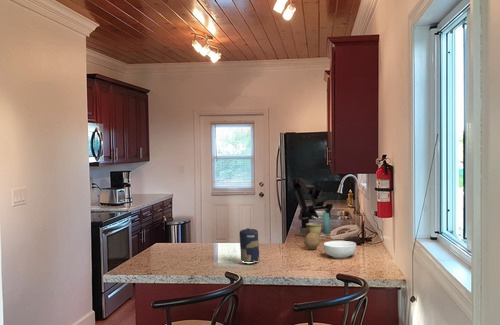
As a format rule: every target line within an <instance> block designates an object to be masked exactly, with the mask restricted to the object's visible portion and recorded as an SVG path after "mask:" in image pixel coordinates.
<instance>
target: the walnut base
mask: <svg viewBox="0 0 500 325" xmlns="http://www.w3.org/2000/svg"><path fill="white" fill-rule="evenodd" d="M307 234H308V231H307V228H300V229H299V232H297V233H295V234H294V236H295V237H306V236H307Z"/></svg>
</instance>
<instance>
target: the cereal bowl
mask: <svg viewBox="0 0 500 325" xmlns="http://www.w3.org/2000/svg"><path fill="white" fill-rule="evenodd" d="M323 250H324V252H325V253H326V254H327V255H328V256H331V257H332V258H333V259H347V258H348V257H350V256H352V255H354V254H355V253H356V250H357V243H356V242H354V241H348V240H347V241H346V240H331V241H325V242H324V243H323Z"/></svg>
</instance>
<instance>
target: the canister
mask: <svg viewBox="0 0 500 325" xmlns="http://www.w3.org/2000/svg"><path fill="white" fill-rule="evenodd" d="M239 247H240V261H241V260H242V261H244V262H254V261H258V260H259V261H260V245H259V232H258V230H257V229H254V228H249V227H248V228H247V227H246V228H245V229H240V231H239Z"/></svg>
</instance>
